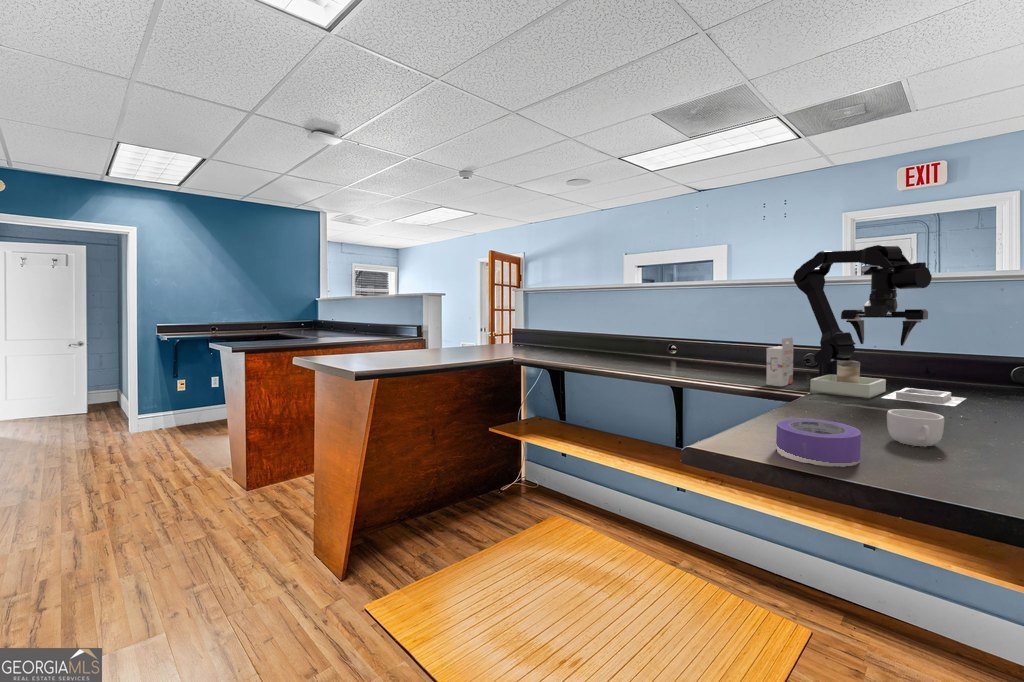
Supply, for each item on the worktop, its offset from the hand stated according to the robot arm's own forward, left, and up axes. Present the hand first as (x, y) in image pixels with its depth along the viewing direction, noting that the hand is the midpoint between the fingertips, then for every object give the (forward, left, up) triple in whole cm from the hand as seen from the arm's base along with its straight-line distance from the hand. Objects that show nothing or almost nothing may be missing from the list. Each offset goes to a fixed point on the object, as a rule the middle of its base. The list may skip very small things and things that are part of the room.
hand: (881, 344), depth 133 cm
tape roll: (+11, -78, -13) cm, 80 cm away
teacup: (+20, -59, -13) cm, 64 cm away
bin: (-4, -13, -13) cm, 19 cm away
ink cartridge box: (-23, -10, -13) cm, 28 cm away
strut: (-4, -13, -12) cm, 18 cm away
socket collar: (+11, -10, -13) cm, 20 cm away
